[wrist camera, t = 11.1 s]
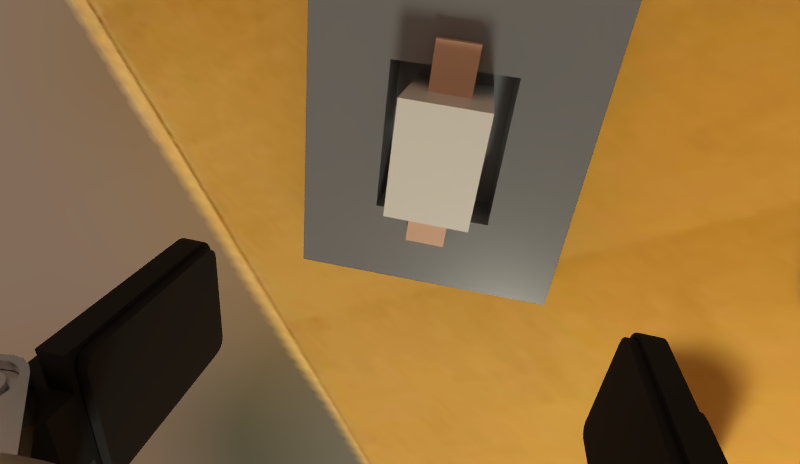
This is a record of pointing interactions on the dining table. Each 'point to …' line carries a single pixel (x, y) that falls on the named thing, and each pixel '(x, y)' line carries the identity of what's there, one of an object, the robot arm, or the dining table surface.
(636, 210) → the dining table surface
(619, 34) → the block
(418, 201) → the block
